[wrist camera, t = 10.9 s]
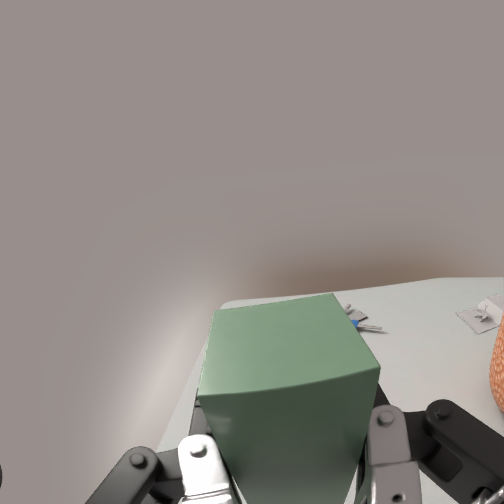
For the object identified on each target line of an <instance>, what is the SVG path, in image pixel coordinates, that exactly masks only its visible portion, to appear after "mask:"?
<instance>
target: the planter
mask: <svg viewBox="0 0 504 504" xmlns="http://www.w3.org/2000/svg"><path fill="white" fill-rule="evenodd" d="M489 378H490V387H491V391H492V394H493V397H494V400H495V402H496V404H497V405H498V407H499V408H500V410H501V411H502V412H503V413H504V311H503V315H502V319H501V323H500V327H499V330H498V334H497V338H496V342H495V345H494V349H493V354H492V358H491V363H490V373H489Z"/></svg>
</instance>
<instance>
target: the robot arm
mask: <svg viewBox="0 0 504 504" xmlns="http://www.w3.org/2000/svg"><path fill="white" fill-rule="evenodd" d="M197 392H198V389H197ZM419 469H420V470H421V471H422V472H423V473H424V474H426V475H427V476H428V477H429V478H430V479H431V480H432V481H433V482H435V483H436V484H437V485H438V486H439V487H440V488H441V489H443V490H444V491H445V492H446V493H447V494H448V495H450V496H451V497H452V498H453V499H454V500H455V501H457V502H458V503H459V504H504V437H503V436H501V435H500V434H499V433H497V432H496V431H494V430H493V429H491V428H490V427H488V426H487V425H485V424H484V423H483V422H481V421H480V420H478V419H477V418H475V417H474V416H472V415H471V414H469V413H468V412H467V411H465V410H464V409H462V408H461V407H459V406H458V405H456V404H455V403H454V402H452V401H449V400H445V399H441V400H436V401H434V402H432V403H431V404H430V405H429V406H428V407H427V409H426V411H418V412H402V411H401V410H400V409H399V408H398V407H396V406H393V405H391V404H390V403H389V401H388V400H387V398H386V396H385V394H384V392H383V391H382V389H381V387H380V385H379V383H378V386H377V391H376V396H375V401H374V406H373V410H372V415H371V419H370V423H369V427H368V431H367V435H366V438H365V442H364V446H363V449H362V452H361V456H360V459H359V462H358V465H357V480H356V496H355V501H354V504H422V494H421V483H420V474H419ZM181 497H185V498H183V500H182V504H242V501H241V499H240V496H239V493H238V490H237V487H236V485H235V482H234V479H233V476H232V474H231V472H230V470H229V468H228V466H227V464H226V462H225V460H224V458H223V456H222V454H221V452H220V449H219V447H218V445H217V443H216V441H215V439H214V436H213V434H212V432H211V430H210V427H209V425H208V423H207V420H206V418H205V416H204V413H203V411H202V408H201V406H200V403H199V401H198V398H197V393H196V400H195V403H194V409H193V414H192V420H191V425H190V431H189V436H188V437H187V438H186V439H184V440H183V441H182V442H181V443H180V445H179V447H178V448H176V449H173V450H169V451H165V452H160V453H155V452H154V451H153V450H151V449H150V448H147V447H141V446H139V447H134V448H131V449H130V450H128V451H127V452H126V453H125V454H124V455H123V456H122V458H121V459H120V460H119V461H118V463H117V464H116V465H115V467H114V468H113V469H112V470H111V472H110V473H109V474H108V475H107V477H106V478H105V479H104V480H103V482H102V483H101V484H100V485H99V487H98V488H97V489H96V490H95V491H94V493H93V494H92V495H91V496H90V498H89V499H88V500H87V501H86V503H85V504H178V502H179V501H180V499H181Z"/></svg>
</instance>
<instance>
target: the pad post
mask: <svg viewBox="0 0 504 504" xmlns="http://www.w3.org/2000/svg"><path fill="white" fill-rule="evenodd" d="M380 369H381V366H380V365H379V363H378V361H377V360H376V358H375V357H374V355H373V354H372V352H371V350H370V349H369V347H368V346H367V344H366V343H365V341H364V340H363V338H362V336H361V335H360V333H359V332H358V330H357V329H356V327H355V326H354V324H353V323H352V321H351V320H350V318H349V317H348V315H347V314H346V312H345V311H344V309H343V308H342V306H341V305H340V303H339V302H338V300H337V299H336V297H335V296H334V295H333V293H329V294H324V295H318V296H312V297H306V298H300V299H294V300H287V301H281V302H274V303H268V304H261V305H254V306H246V307H239V308H231V309H223V310H216V311H214V312H213V317H212V322H211V326H210V331H209V336H208V341H207V346H206V351H205V356H204V361H203V366H202V371H201V377H200V382H199V387H198V392H197V398H198V401H199V403H200V406H201V408H202V411H203V413H204V416H205V418H206V420H207V423H208V425H209V427H210V430H211V432H212V434H213V436H214V439H215V441H216V443H217V445H218V447H219V449H220V452H221V454H222V456H223V458H224V460H225V462H226V464H227V466H228V468H229V470H230V472H231V474H232V476H233V478H234V480H235V482H236V484H237V486H238V488H239V489H240V491H241V493H242V495H243V497H244V499H245V500H246V502H247V504H344V502H345V499H346V497H347V494H348V491H349V489H350V486H351V483H352V480H353V477H354V474H355V472H356V469H357V465H358V462H359V459H360V456H361V452H362V449H363V446H364V442H365V438H366V435H367V431H368V427H369V423H370V419H371V415H372V410H373V406H374V401H375V396H376V391H377V386H378V380H379V375H380Z"/></svg>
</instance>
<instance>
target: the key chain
mask: <svg viewBox="0 0 504 504" xmlns="http://www.w3.org/2000/svg"><path fill="white" fill-rule="evenodd" d="M349 307H351V305H350V304H347V305H346V306H345V307H344V308H343V309H344V311H345V312H346V311H347V310H348V309H349ZM348 317H349V318H350V320H351V321H352V323H353V324H354V326H355V327H356V328H357V327H361V328H369V329H382V327H376V326H368V325H361V324H359V323H358V320H360V319H363V318H365V317H367V316H366V315H365V314H363V313H362V312H361V311H358V312H356V313H353V314H351V315H348Z"/></svg>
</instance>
